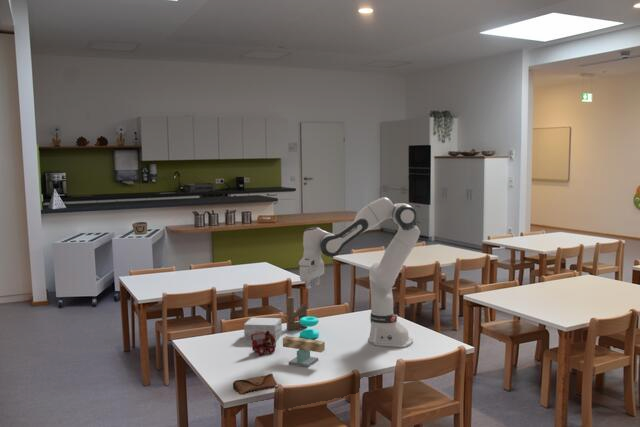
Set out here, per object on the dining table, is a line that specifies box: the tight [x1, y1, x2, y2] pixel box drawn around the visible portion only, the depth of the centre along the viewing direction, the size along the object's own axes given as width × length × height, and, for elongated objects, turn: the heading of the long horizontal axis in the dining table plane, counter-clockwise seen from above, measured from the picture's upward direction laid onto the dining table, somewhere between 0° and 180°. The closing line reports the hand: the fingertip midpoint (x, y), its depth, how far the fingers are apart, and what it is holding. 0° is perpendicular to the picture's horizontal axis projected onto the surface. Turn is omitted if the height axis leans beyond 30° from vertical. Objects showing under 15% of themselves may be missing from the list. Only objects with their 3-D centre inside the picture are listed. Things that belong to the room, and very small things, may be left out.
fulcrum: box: [288, 349, 319, 369], centre depth 264 cm, size 10×10×7 cm
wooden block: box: [286, 296, 308, 331], centre depth 315 cm, size 4×11×18 cm, turn 112°
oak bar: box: [282, 335, 326, 353], centre depth 264 cm, size 20×4×4 cm, turn 63°
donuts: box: [298, 315, 320, 340], centre depth 301 cm, size 10×10×10 cm
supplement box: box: [243, 317, 283, 342], centre depth 301 cm, size 17×13×9 cm
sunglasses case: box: [232, 373, 278, 396], centre depth 237 cm, size 18×7×7 cm
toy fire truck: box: [251, 331, 277, 357], centre depth 279 cm, size 7×12×10 cm, turn 118°
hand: (312, 286), depth 288 cm, fingers open, 8 cm apart
